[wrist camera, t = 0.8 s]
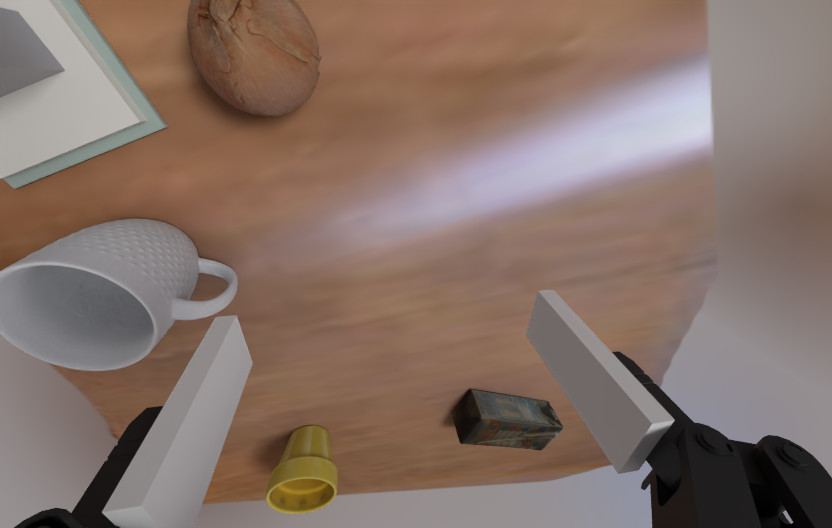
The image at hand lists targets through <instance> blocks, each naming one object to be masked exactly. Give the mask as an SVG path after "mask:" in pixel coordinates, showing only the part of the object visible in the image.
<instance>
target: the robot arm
mask: <svg viewBox="0 0 832 528" xmlns="http://www.w3.org/2000/svg"><path fill="white" fill-rule="evenodd" d="M526 336H527V337H528V339H529V340H530V342H531V343H532V345H533V346H534V348H535V349H536V351H537V352H538V354H539V355H540V357H541V358H542V360H543V361H544V363H545V364H546V366H547V367H548V369H549V370H550V372H551V373H552V375H553V376H554V378H555V379H556V381H557V382H558V384H559V385H560V387H561V388H562V390H563V391H564V393H565V394H566V396H567V397H568V399H569V400H570V402H571V403H572V405H573V406H574V408H575V409H576V411H577V412H578V414H579V415H580V417H581V418H582V420H583V421H584V423H585V424H586V426H587V427H588V429H589V430H590V432H591V433H592V435H593V436H594V438H595V439H596V441H597V442H598V444H599V445H600V447H601V448H602V450H603V451H604V453H605V454H606V456H607V457H608V459H609V460H610V462H611V464H612V465H613V467H614V468H615V470H616V471H617V473H618V474H619V473H625V472H630V471H636V470H639V469H640V467H641V466H642V464H643V463H644V462H645V461H647V462H648V463H649V464H650V466H651V467H652V468H653V469H652V471H651V472H650V473H649V475H648V476H647V477H646V479H645V480H644V481H643V483H642V486H641V489H643V490H645V489H646V488H647V487H648V485H649V484H650V485H651V507H652V525H653V526H652V528H832V478H831V476H830V475H829V474H828V472H827V471H826V470H825V469H824V467H823V466H822V465H821V464H820V463H819V462H818V461H817V459H816V458H814V456H813V455H811V454H810V453H808V452H807V451H806V450H805V449H803V448H802V447H800V446H799V445H797V444H795V443H793V442H791V441H790V440H787V439H784V438H781V437H779V436H772V435H768V436H765V437H763V438H762V439H761V440H760V441H759V442H758V443H757V444H752V443H746V442H740V441H734V440H729V439H728V438H727V437H725V436H724V435H723V434H721V433H720V432H719V431H717V430H715V429H713V428H711V427H709V426H707V425H703V424H700V423H694V422H693V421H692V420H691V419H690V418H689V417H688V416H687V415H686V414H685V413H684V412H683V411H682V410H681V409H680V408H679V407H678V406H677V405H676V404H675V403H674V402H673V401H672V400H671V399H670V398H669V397H668V396H667V395H666V394H665V393H664V392H663V391H662V390H661V389H660V388H659V387H658V386H657V385H656V384H654V383H653V381H652V380H651V379H650V377H649V376H648V375H647V374H646V375H645V374H644V371H643V370H642V369H641V368H640V367H639V366H638V365H637V364H636V363H635V362H634V361H633V360H631V359H630V358H628V357H627V356H625V355H623V354H622V353H620V352H611V351H610V350H609V349H608V348H607V347H606V346H605V345H604V344H603V343H602V341H601V340H600V339H599V338H598V337H597V336H596V335H595V334H594V333H593V332H592V331H591V330H590V329H589V328H588V326H587V325H586V324H585V323H584V322H583V321H582V320H581V319H580V318H579V317H578V316H577V315H576V314H575V313H574V311H573V310H572V309H571V308H570V307H569V306H568V305H567V304H566V303H565V302H564V301H563V300H562V299H561V298H560V296H559V295H558V294H557V293H556V292H555V291H554V290H543V291H538V293H537V297H536V301H535V304H534V308H533V312H532V315H531V319H530V323H529V326H528V330H527V334H526ZM252 364H253V363H252V360H251V357H250V354H249V351H248V348H247V345H246V342H245V339H244V336H243V333H242V330H241V327H240V324H239V321H238V318H237V315H233V316H220V317H215V319H214V321H213V323H212V324H211V326H210V328H209V329H208V331H207V333H206V335H205V336H204V338H203V340H202V341H201V343H200V345H199V347H198V348H197V350H196V352H195V353H194V355H193V357H192V359H191V360H190V362H189V364H188V365H187V367H186V369H185V371H184V372H183V374H182V376H181V377H180V379H179V381H178V383H177V384H176V386H175V388H174V389H173V391H172V393H171V395H170V396H169V398H168V400H167V401H166V403H165V405H164V406H159V407H151V408H146V409H145V410H144V411H143V412H142V413H141V414H140V415H139V416H138V417H137V418H135V419H134V420H133V421H132V422H131V423H130V424H129V426H128V427H127V429H126V430H125V432H124V433H123V435H122V436H121V438H120V439H119V441H118V445H117V446H115V447H114V449H113V450H112V452H111V453H110V455H109V456H108V460H107V461H105V462H104V464H103V465H102V467H101V469H100V470H99V472H98V473H97V475H96V476H95V478H94V479H93V481H92V482H91V484H90V485H89V487H88V488H87V490H86V491H85V493H84V495H83V496H82V498H81V499H80V501H79V502H78V504H77V505H76V507H75V508H74V510H73V511H72V513H70V512H69V511H67V510H66V509H60V508H54V509H50V510H45V511H41V512H39V513H37V514H35V515H34V516H32V517H30V518H28V519H26V520H24V521H22V522H21V523H20V524H18V525H17V526H16V527H14V528H194V525H195V522H196V520H197V517H198V514H199V511H200V508H201V506H202V503H203V500H204V497H205V495H206V492H207V489H208V486H209V483H210V481H211V478H212V475H213V472H214V470H215V467H216V464H217V461H218V458H219V456H220V453H221V450H222V447H223V445H224V442H225V439H226V436H227V433H228V431H229V428H230V425H231V422H232V419H233V417H234V414H235V411H236V408H237V406H238V403H239V400H240V397H241V394H242V392H243V389H244V386H245V383H246V381H247V378H248V375H249V372H250V369H251V367H252ZM785 510H786V511H787V512H788V514H789V516H790V517H791V519H792V521H793V523H792V524H790V522H789V521H788V520H787V519H786V517H785V515H784V514H783V512H784V511H785Z"/></svg>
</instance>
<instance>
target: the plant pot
mask: <svg viewBox="0 0 832 528" xmlns="http://www.w3.org/2000/svg"><path fill="white" fill-rule="evenodd" d="M337 482H338V473H337V468H336V466H335V465H334V464H333V459H332V452H331V446H330V439H329V434H328V432H327V430H326V429H324V428H322V427H320V426H316V425H309V426H304V427H301V428H298V429H297V430H295V431H294V432H293V433H292V435H291V436H290V439H289V441H288V443H287V446H286V448H285V450H284V453H283V455H282V457H281V460H280V462H279V464H278V466H277V467H276V468H275V469H274V470H273V471H272V473H271V477H270V480H269V484H268V488H267V493H266V502H267V504H268V505H269V506H270V507H271V508H272V509H274V510H276V511H279V512H282V513H287V514H302V513H308V512H312V511H316V510H319V509H321V508H323V507H325V506H326V505H328V504H329V503H331V502H332V501H333V500H334V498H335V496H336V494H337Z"/></svg>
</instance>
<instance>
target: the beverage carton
mask: <svg viewBox="0 0 832 528" xmlns="http://www.w3.org/2000/svg"><path fill="white" fill-rule="evenodd" d="M452 415H453V419H454V423H455V427H456V431H457V435H458V438H459V441H460V443H461V444H472V445H486V446H500V447H513V448H525V449H533V450H542V449H543V448H544V447H545V446H546V445H547V444H548V443H549V442H550V441H551V440H552V439H554V438H556V437H557V436H558V433H559V432H560V431H561V430H562V429H563V425H562V424H561V422H560V421H559V419H558V418H557V416H556V414H555V412H554V410H553V408H552V407H551V405H550V404H549V402H548V401H542V400H536V399H531V398H525V397H518V396H512V395H505V394H498V393H492V392H485V391H480V390H474V389H470V390H469V392H468V393H467V394H466V396H465V397H464V398H463V400H462V401H461V402H460V403H459V405H458V406H457V407H456V409H455V410H454V411H453V413H452Z"/></svg>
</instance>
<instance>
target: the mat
mask: <svg viewBox="0 0 832 528" xmlns="http://www.w3.org/2000/svg"><path fill="white" fill-rule="evenodd" d="M59 1H60V2H61V3H62V5H63V6H64V8H65V9H66V10H67V12H68V13H69V14H70V16H71V17H72V18H73V20H74V21H75V22H76V24H77V25H78V27H79V28H80V29H81V31H82V32H83V33H84V35H85V36H86V37H87V39H88V40H89V41H90V43H91V44H92V45H93V47H94V48H95V50H96V51H97V52H98V54H99V55H100V56H101V58H102V59H103V60H104V62H105V63H106V64H107V66H108V67H109V69H110V70H111V71H112V73H113V74H114V75H115V77H116V78H117V79H118V81H119V82H120V83H121V85H122V86H123V87H124V89H125V90H126V92H127V93H128V94H129V96H130V97H131V98H132V100H133V101H134V102H135V104H136V105H137V106H138V108H139V109H140V111H141V112H142V113H143V115H144V116H145V117H146V119H147V120H148V121H145V122H143V123H140V124H138V125H135V126H133V127H131V128H128V129H126V130H123V131H121V132H118V133H116V134H113V135H111V136H109V137H106V138H104V139H101V140H99V141H96V142H94V143H91V144H89V145H86V146H84V147H82V148H79V149H77V150H74V151H72V152H69V153H67V154H64V155H62V156H60V157H57V158H55V159H52V160H50V161H47V162H45V163H42V164H40V165H37V166H35V167H33V168H30V169H28V170H25V171H23V172H20V173H18V174H15V175H13V176H9V177H5V178H3V179H4V180H5V181H6V182H7V183H8V184H9V185H10V186H11V187H12V188H14V189H16V188H19V187H21V186H24V185H26V184H29V183H31V182H34V181H36V180H39V179H41V178H44V177H46V176H48V175H51V174H53V173H56V172H58V171H61V170H63V169H66V168H68V167H71V166H73V165H76V164H78V163H80V162H83V161H85V160H88V159H90V158H93V157H95V156H98V155H100V154H103V153H105V152H107V151H110V150H112V149H115V148H117V147H120V146H122V145H125V144H127V143H130V142H132V141H134V140H137V139H139V138H142V137H144V136H147V135H149V134H152V133H154V132H157V131H159V130H162V129H164V128H166V127H168V126H167V124H166V123H165V122H164V120H163V119H162V117H161V116H160V115H159V113H158V112H157V110H156V109H155V108H154V106H153V105H152V103H151V102H150V101H149V99H148V98H147V96H146V95H145V94H144V92H143V91H142V89H141V88H140V87H139V85H138V84H137V82H136V81H135V80H134V78H133V77H132V75H131V74H130V73H129V71H128V70H127V68H126V67H125V66H124V64H123V63H122V61H121V60H120V59H119V57H118V56H117V54H116V53H115V52H114V50H113V49H112V47H111V46H110V45H109V43H108V42H107V40H106V39H105V38H104V36H103V35H102V33H101V32H100V31H99V29H98V28H97V26H96V25H95V23H94V22H93V21H92V19H91V18H90V16H89V15H88V14H87V12H86V11H85V9H84V8H83V7H82V5H81V4H80V2H79V1H78V0H59Z"/></svg>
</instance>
